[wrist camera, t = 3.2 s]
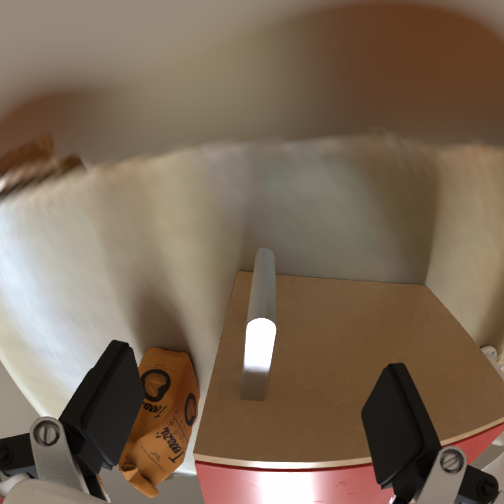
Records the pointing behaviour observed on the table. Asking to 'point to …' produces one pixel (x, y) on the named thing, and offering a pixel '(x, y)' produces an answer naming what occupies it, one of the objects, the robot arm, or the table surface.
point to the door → (333, 369)
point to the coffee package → (161, 420)
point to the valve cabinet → (311, 480)
